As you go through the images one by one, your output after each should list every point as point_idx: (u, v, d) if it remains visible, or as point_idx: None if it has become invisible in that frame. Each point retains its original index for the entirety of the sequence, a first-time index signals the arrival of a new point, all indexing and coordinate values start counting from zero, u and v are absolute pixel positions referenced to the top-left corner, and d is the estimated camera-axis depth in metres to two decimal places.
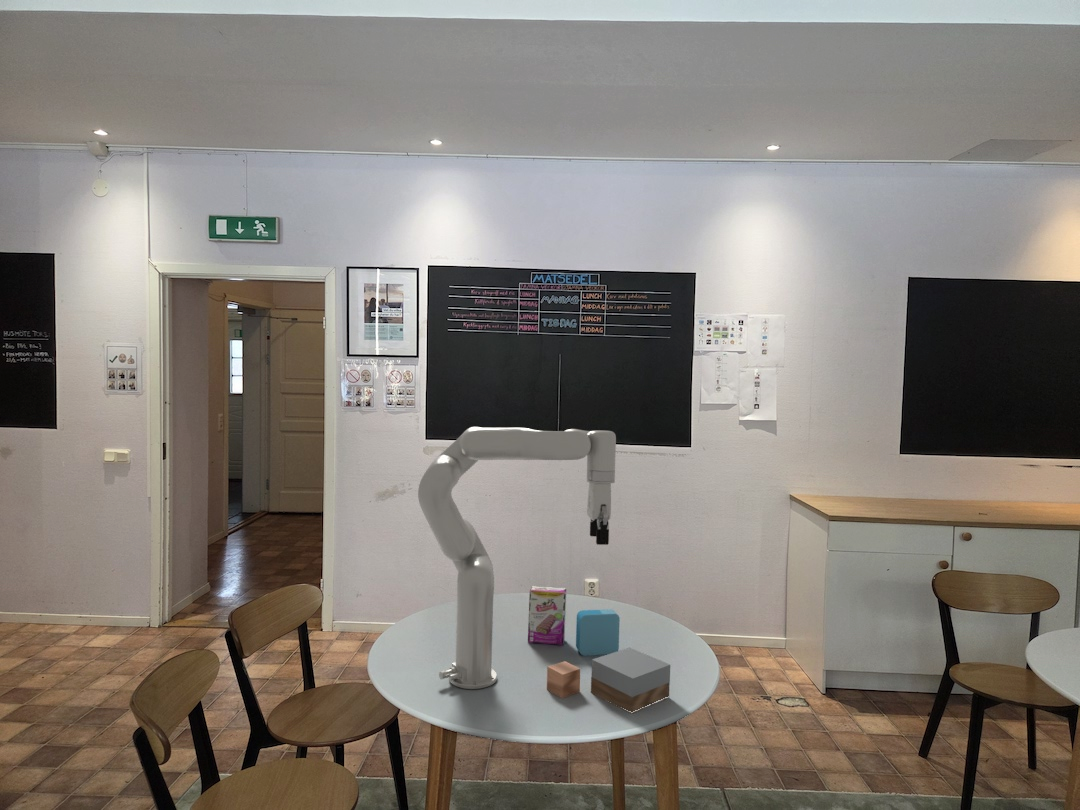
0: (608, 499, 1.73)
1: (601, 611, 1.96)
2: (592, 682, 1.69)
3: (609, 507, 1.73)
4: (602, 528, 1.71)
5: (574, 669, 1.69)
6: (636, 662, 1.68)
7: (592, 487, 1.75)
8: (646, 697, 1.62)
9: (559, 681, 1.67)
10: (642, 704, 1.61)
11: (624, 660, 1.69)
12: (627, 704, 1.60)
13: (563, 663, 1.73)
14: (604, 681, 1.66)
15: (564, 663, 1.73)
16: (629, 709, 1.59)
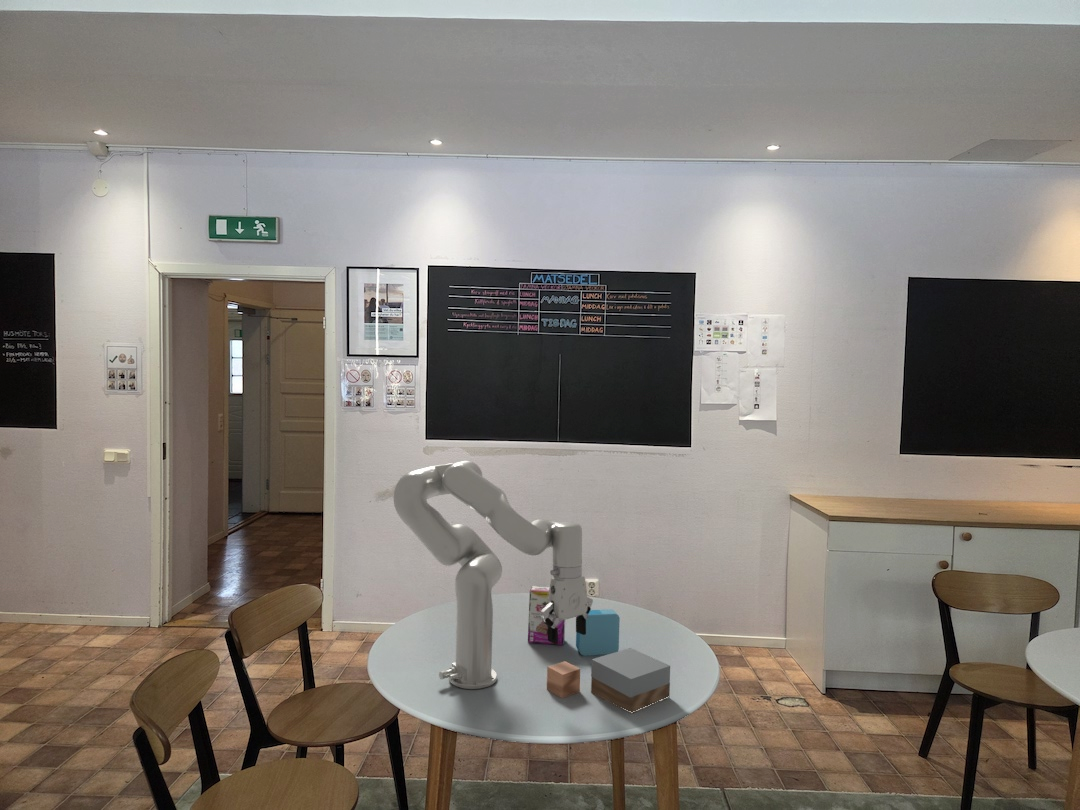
0: None
1: (601, 611, 1.96)
2: (592, 682, 1.69)
3: None
4: None
5: (574, 669, 1.69)
6: (636, 662, 1.68)
7: (581, 581, 1.69)
8: (647, 697, 1.62)
9: (559, 681, 1.67)
10: (643, 705, 1.61)
11: (624, 660, 1.69)
12: (627, 704, 1.60)
13: (563, 663, 1.73)
14: (603, 681, 1.66)
15: (564, 663, 1.73)
16: (629, 709, 1.59)
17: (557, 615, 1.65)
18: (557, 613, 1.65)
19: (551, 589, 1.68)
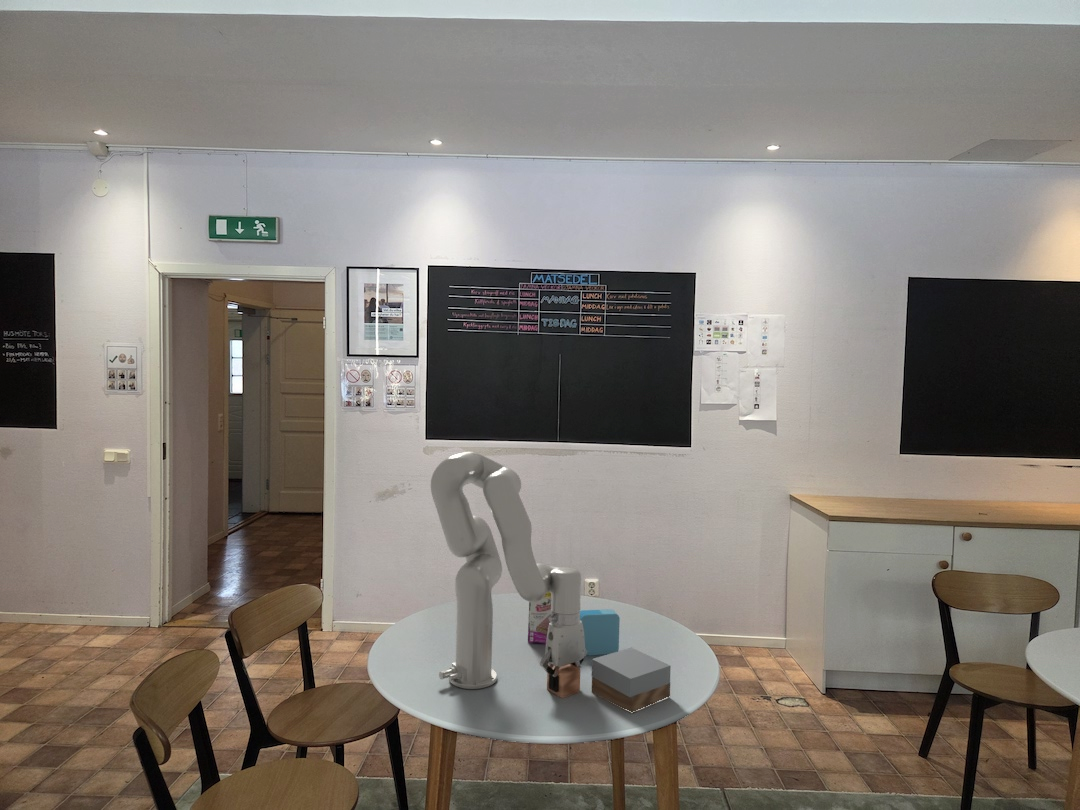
0: None
1: (601, 611, 1.96)
2: (593, 682, 1.69)
3: None
4: None
5: (574, 669, 1.69)
6: (637, 662, 1.68)
7: (579, 628, 1.69)
8: (647, 697, 1.62)
9: (559, 681, 1.67)
10: (643, 704, 1.61)
11: (625, 660, 1.69)
12: (628, 704, 1.60)
13: None
14: (603, 681, 1.66)
15: None
16: (630, 709, 1.59)
17: (554, 662, 1.65)
18: (554, 660, 1.65)
19: (549, 635, 1.68)
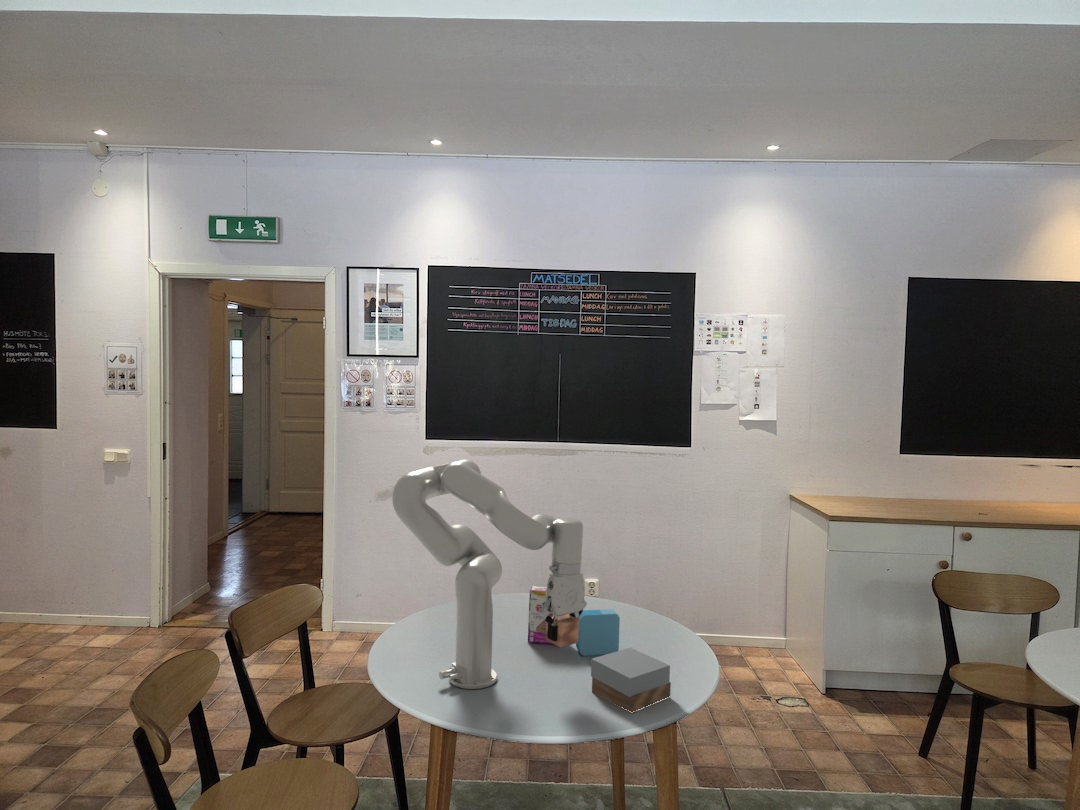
0: None
1: (601, 611, 1.96)
2: (593, 682, 1.69)
3: None
4: None
5: (573, 619, 1.69)
6: (636, 662, 1.68)
7: (579, 578, 1.69)
8: (647, 697, 1.62)
9: (558, 630, 1.67)
10: (643, 704, 1.61)
11: (624, 660, 1.69)
12: (628, 704, 1.60)
13: None
14: (603, 680, 1.66)
15: None
16: (630, 709, 1.59)
17: (554, 610, 1.65)
18: (554, 609, 1.65)
19: (549, 584, 1.68)
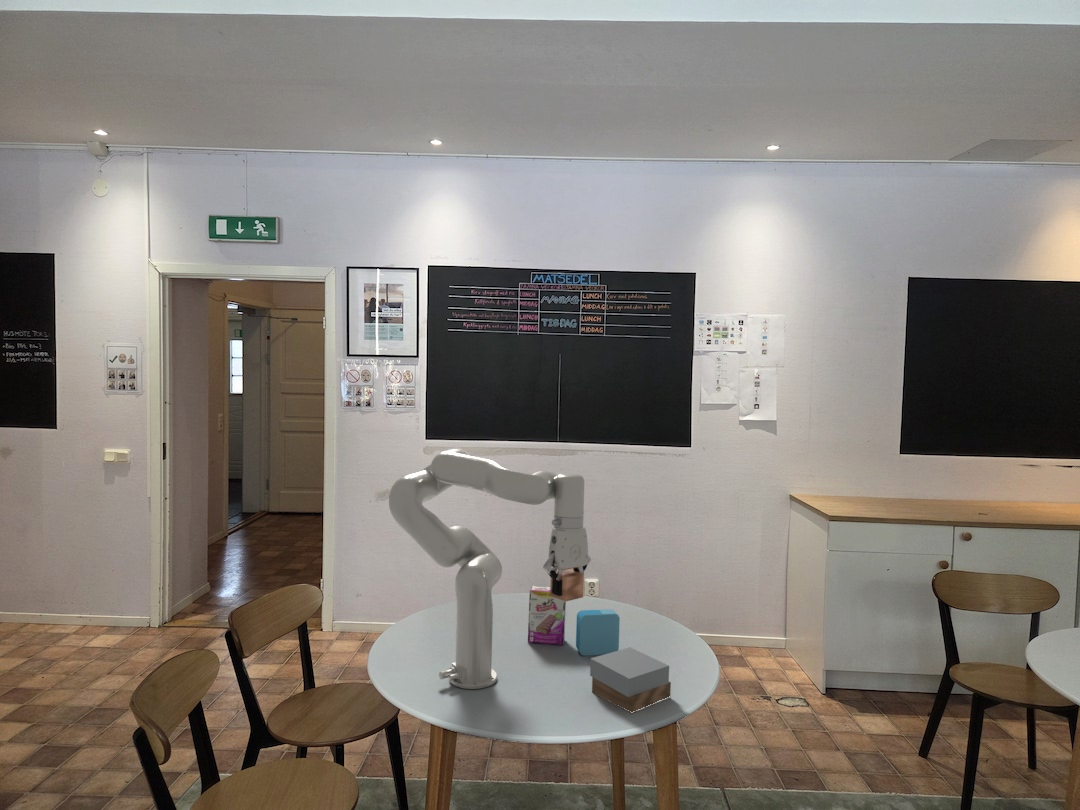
0: None
1: (601, 611, 1.96)
2: (593, 682, 1.69)
3: None
4: None
5: (578, 574, 1.69)
6: (635, 662, 1.68)
7: (582, 533, 1.69)
8: (647, 697, 1.62)
9: (562, 585, 1.66)
10: (643, 704, 1.61)
11: (623, 660, 1.69)
12: (628, 704, 1.60)
13: (566, 570, 1.72)
14: (602, 680, 1.66)
15: (567, 570, 1.72)
16: (630, 709, 1.59)
17: (558, 564, 1.65)
18: (558, 563, 1.65)
19: (552, 539, 1.67)
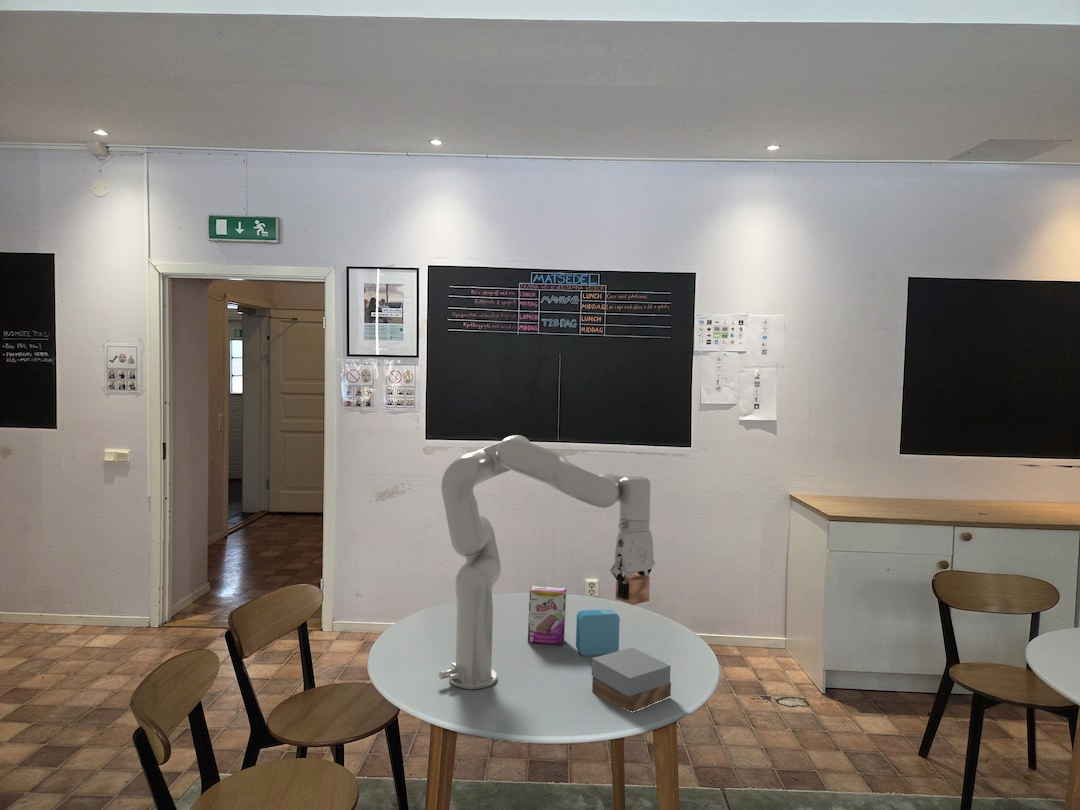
0: None
1: (601, 611, 1.96)
2: (593, 682, 1.69)
3: None
4: None
5: (644, 577, 1.67)
6: (637, 662, 1.68)
7: (648, 536, 1.67)
8: (647, 697, 1.62)
9: (629, 588, 1.65)
10: (643, 704, 1.61)
11: (625, 660, 1.69)
12: (628, 704, 1.60)
13: (631, 573, 1.71)
14: (603, 680, 1.66)
15: (632, 573, 1.71)
16: (630, 709, 1.59)
17: (625, 568, 1.63)
18: (625, 566, 1.63)
19: (618, 542, 1.66)
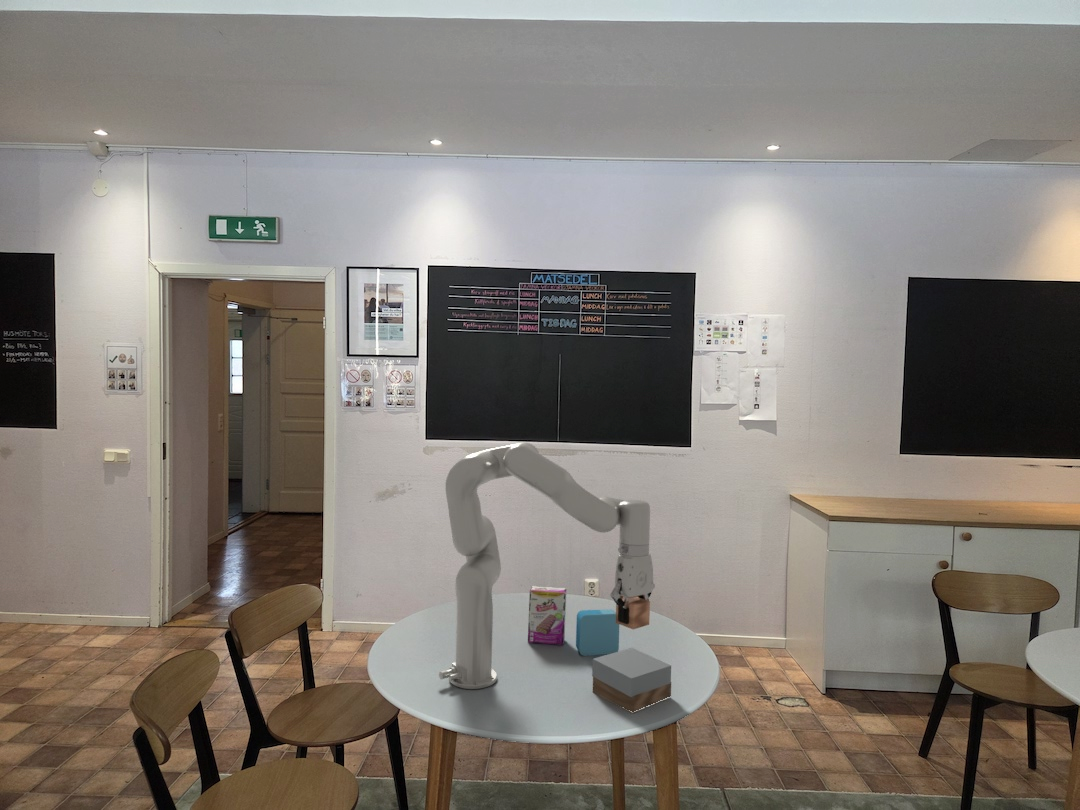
0: None
1: (601, 611, 1.96)
2: (594, 682, 1.69)
3: None
4: None
5: (644, 601, 1.67)
6: (637, 662, 1.68)
7: (648, 560, 1.68)
8: (648, 697, 1.62)
9: (629, 612, 1.65)
10: (644, 704, 1.61)
11: (625, 660, 1.69)
12: (628, 704, 1.60)
13: None
14: (604, 680, 1.66)
15: None
16: (630, 709, 1.59)
17: (625, 592, 1.63)
18: (625, 591, 1.63)
19: (618, 567, 1.66)
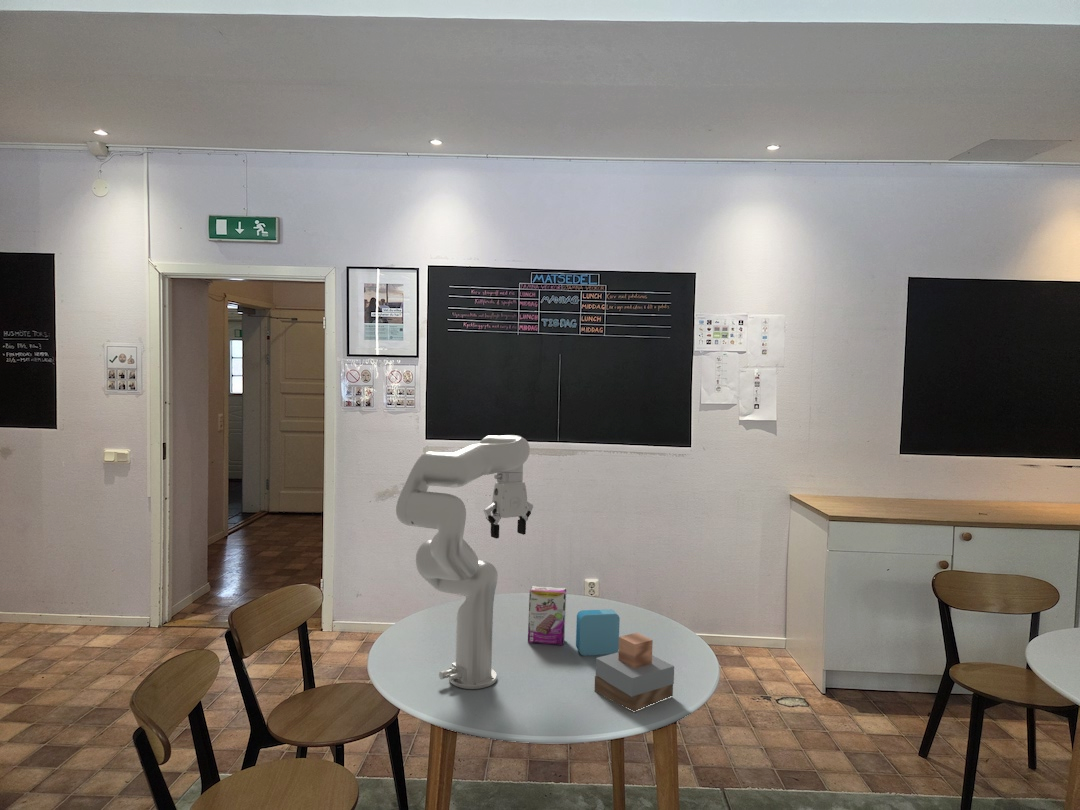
0: None
1: (601, 611, 1.96)
2: (596, 681, 1.70)
3: None
4: None
5: (646, 640, 1.67)
6: None
7: (521, 486, 1.93)
8: (649, 696, 1.62)
9: (631, 651, 1.65)
10: (645, 704, 1.62)
11: None
12: (630, 703, 1.60)
13: (635, 634, 1.71)
14: (606, 680, 1.67)
15: (636, 634, 1.71)
16: (632, 708, 1.60)
17: (499, 513, 1.89)
18: (499, 511, 1.89)
19: (495, 492, 1.92)
